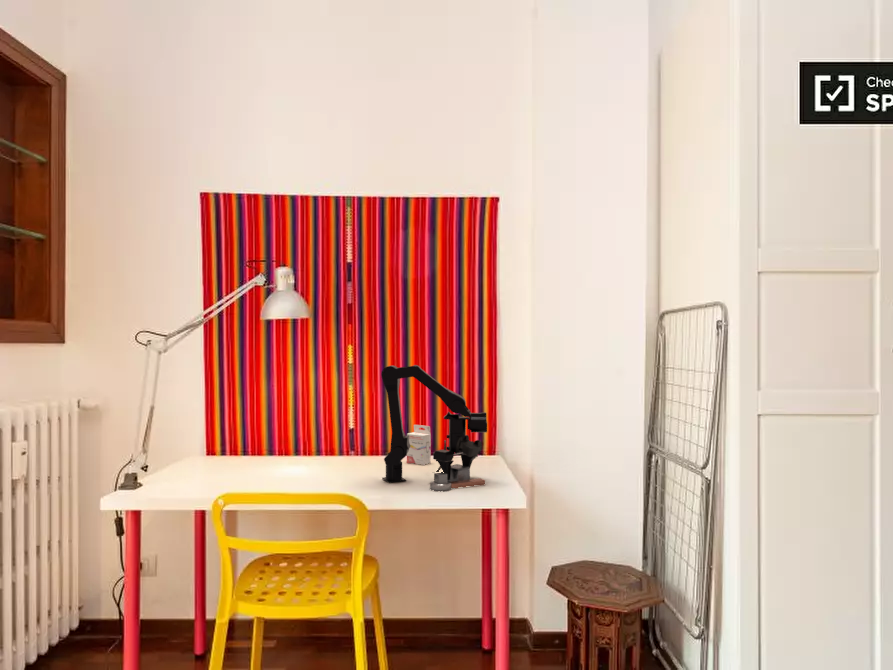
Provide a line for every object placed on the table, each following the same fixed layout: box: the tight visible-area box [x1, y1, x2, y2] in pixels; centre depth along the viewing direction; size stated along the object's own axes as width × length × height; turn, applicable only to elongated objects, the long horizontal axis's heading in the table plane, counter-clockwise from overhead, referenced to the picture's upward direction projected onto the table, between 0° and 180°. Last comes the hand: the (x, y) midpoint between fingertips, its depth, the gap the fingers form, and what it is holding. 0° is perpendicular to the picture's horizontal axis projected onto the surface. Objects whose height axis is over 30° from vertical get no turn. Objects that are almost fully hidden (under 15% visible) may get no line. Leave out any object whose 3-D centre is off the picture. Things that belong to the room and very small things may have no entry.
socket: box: [447, 463, 471, 482], centre depth 216 cm, size 6×6×5 cm
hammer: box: [429, 472, 486, 493], centre depth 208 cm, size 20×7×5 cm, turn 117°
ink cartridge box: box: [406, 424, 432, 466], centre depth 246 cm, size 9×5×15 cm, turn 58°
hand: (457, 477), depth 216 cm, fingers open, 9 cm apart
